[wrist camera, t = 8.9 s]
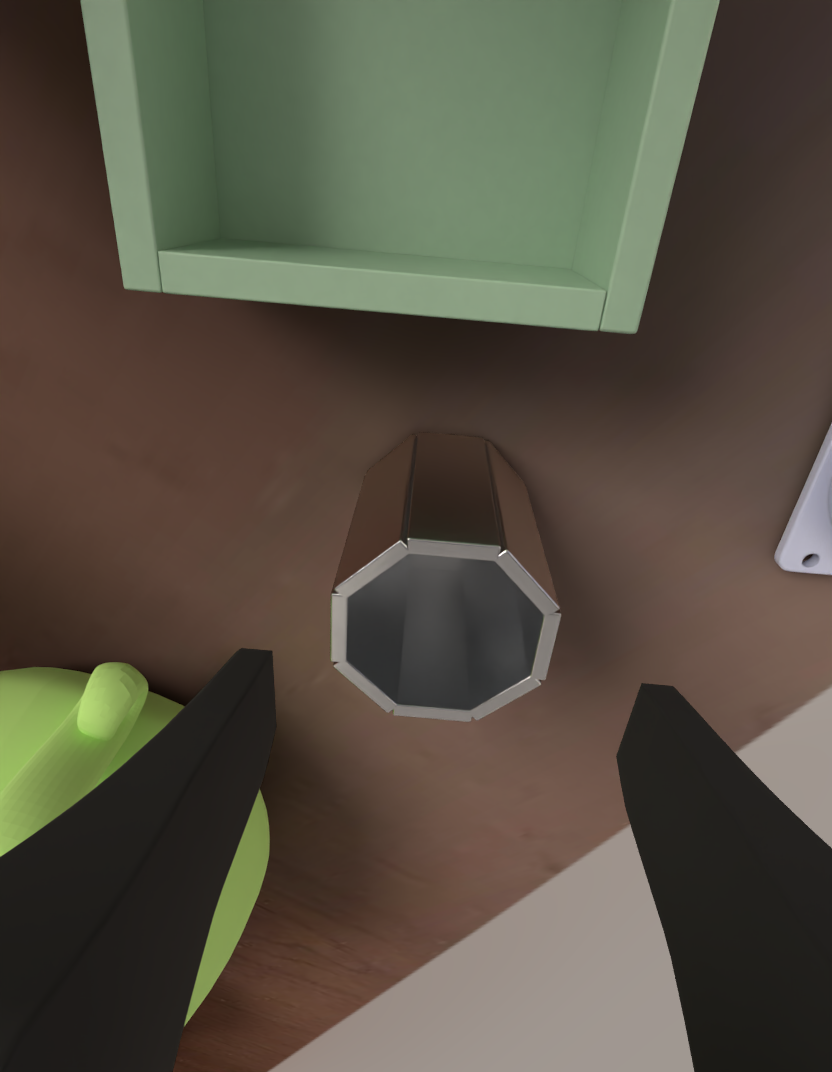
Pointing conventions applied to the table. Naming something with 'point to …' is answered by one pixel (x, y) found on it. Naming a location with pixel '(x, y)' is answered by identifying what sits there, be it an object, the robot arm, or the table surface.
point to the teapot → (105, 774)
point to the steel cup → (443, 583)
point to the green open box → (398, 150)
